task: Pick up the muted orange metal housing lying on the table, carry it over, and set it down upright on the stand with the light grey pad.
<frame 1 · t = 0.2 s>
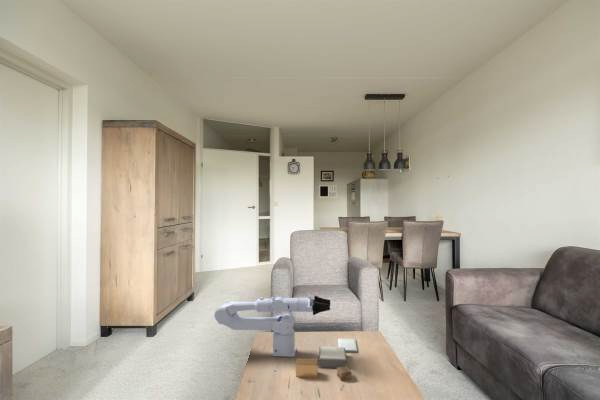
hand: (330, 304, 130), 21 cm above the table, tool horizontal, fingers open, 7 cm apart
walnut block: (344, 377, 112), on the table
housing: (306, 374, 114), on the table
stand: (332, 360, 124), on the table
hard drive: (347, 348, 138), on the table
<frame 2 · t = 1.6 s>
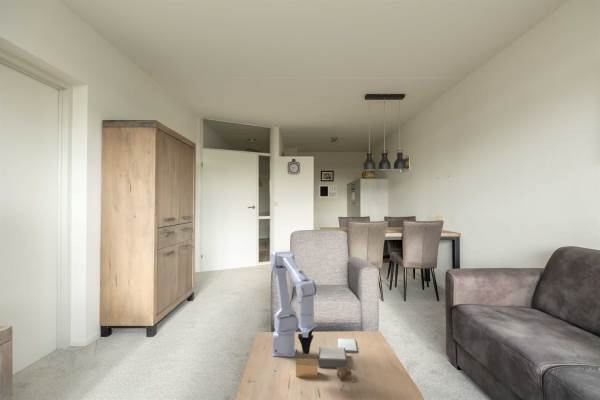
hand: (306, 349, 114), 9 cm above the table, tool pointing down, fingers open, 7 cm apart
nothing on the table moved.
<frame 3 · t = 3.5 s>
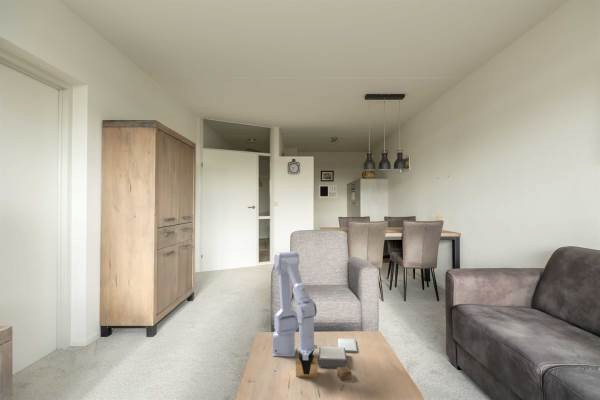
hand: (306, 370, 114), 1 cm above the table, tool pointing down, fingers closed on housing, 4 cm apart
housing: (306, 374, 114), on the table, touching gripper
everything else where it was.
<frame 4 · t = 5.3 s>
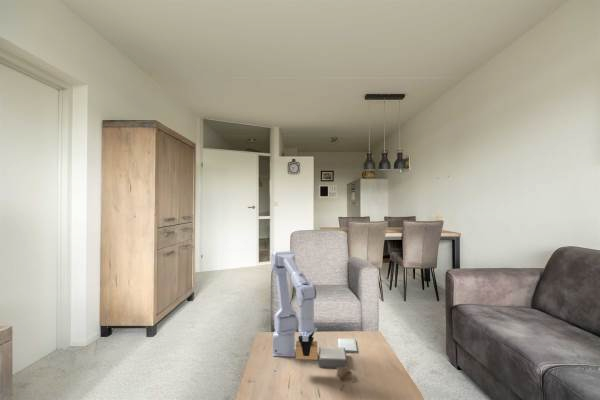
hand: (306, 352, 114), 8 cm above the table, tool pointing down, fingers closed on housing, 4 cm apart
housing: (306, 356, 114), point 7 cm above the table, touching gripper
everything else where it was.
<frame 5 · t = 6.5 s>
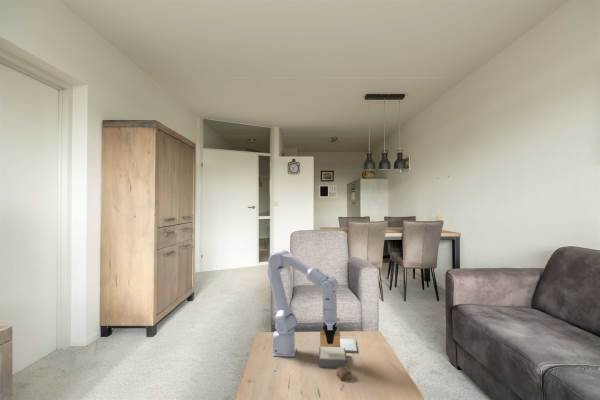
hand: (330, 341, 123), 8 cm above the table, tool pointing down, fingers closed on housing, 4 cm apart
housing: (330, 344, 123), point 7 cm above the table, touching gripper
everything else where it was.
when the fingers open (6 cm above the table, at t = 7.6 s): housing stays where it is, resting on stand.
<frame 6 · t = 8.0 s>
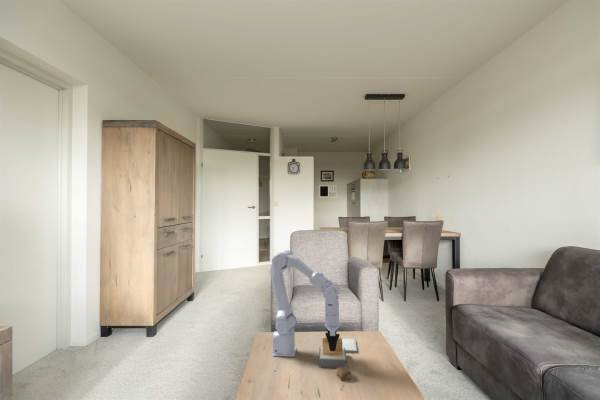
hand: (332, 346, 124), 6 cm above the table, tool pointing down, fingers open, 7 cm apart
housing: (332, 352, 124), point 3 cm above the table, touching stand
everything else where it was.
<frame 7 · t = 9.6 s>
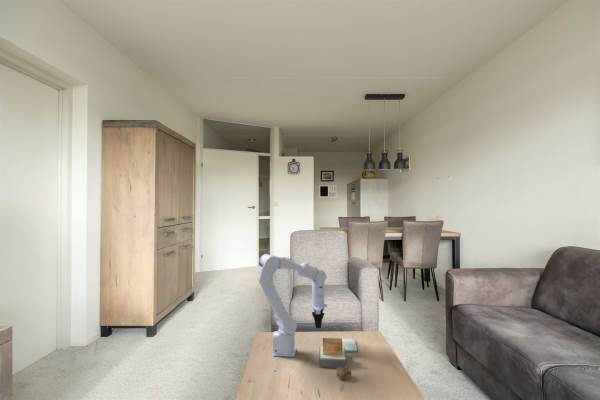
hand: (318, 324, 139), 9 cm above the table, tool pointing down, fingers open, 7 cm apart
nothing on the table moved.
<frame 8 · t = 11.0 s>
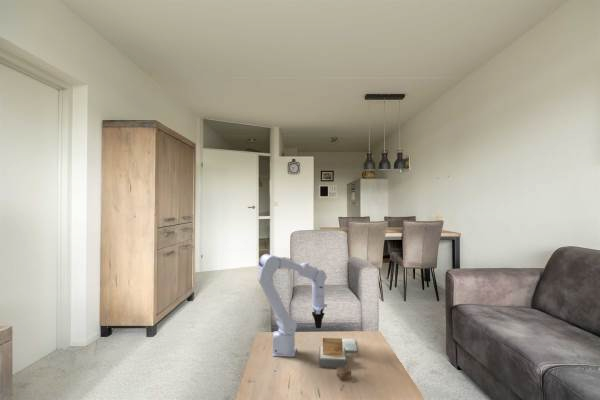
hand: (318, 324, 139), 9 cm above the table, tool pointing down, fingers open, 7 cm apart
nothing on the table moved.
at the end: housing inside the target area on the stand (0.0 cm from its centre), point 3.4 cm above the stand's base; housing tilted 0°; the gripper is holding nothing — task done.
